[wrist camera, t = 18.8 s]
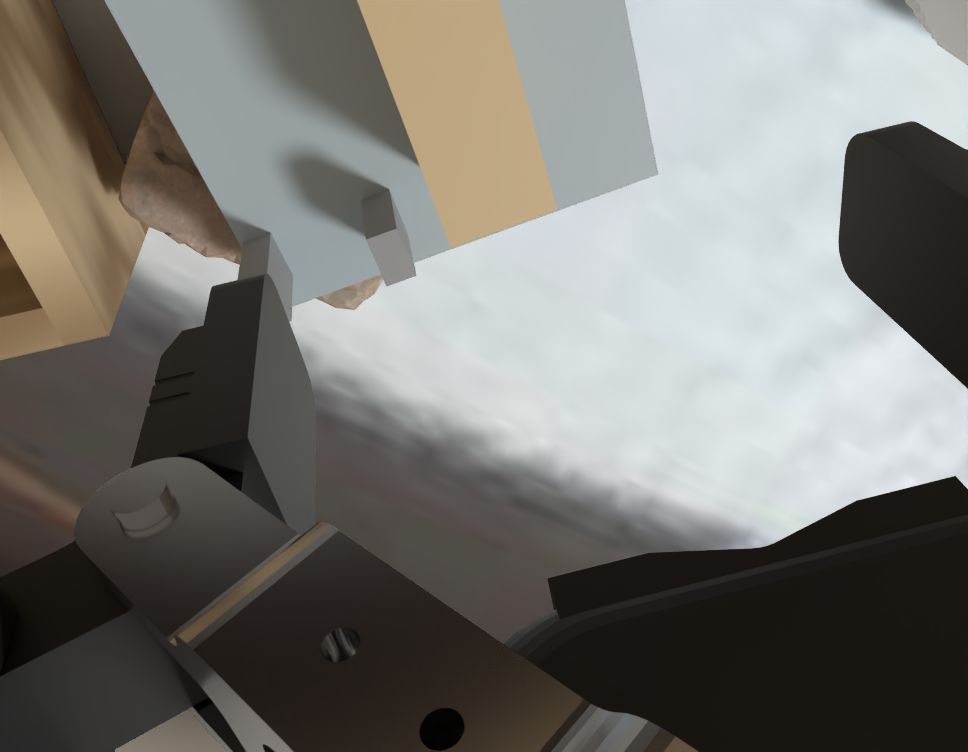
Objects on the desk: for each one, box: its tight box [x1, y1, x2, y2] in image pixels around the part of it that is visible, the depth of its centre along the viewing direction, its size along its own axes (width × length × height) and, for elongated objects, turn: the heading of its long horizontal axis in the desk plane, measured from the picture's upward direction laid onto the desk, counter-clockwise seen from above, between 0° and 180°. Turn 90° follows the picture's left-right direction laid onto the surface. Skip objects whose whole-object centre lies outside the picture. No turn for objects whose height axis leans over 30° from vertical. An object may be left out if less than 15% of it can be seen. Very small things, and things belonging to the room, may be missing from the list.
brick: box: [119, 89, 383, 310], centre depth 24 cm, size 17×8×5 cm, turn 149°
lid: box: [104, 0, 658, 321], centre depth 20 cm, size 11×11×6 cm
